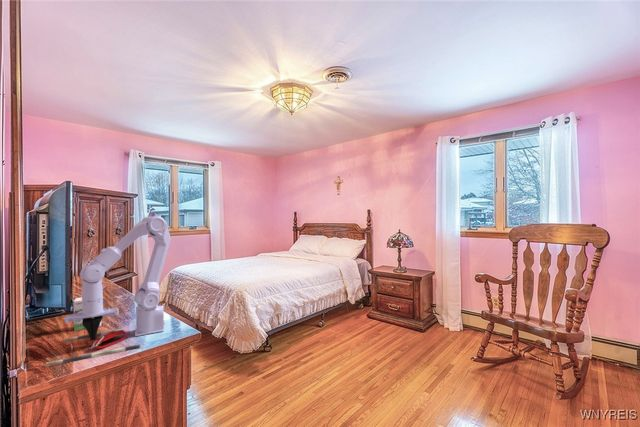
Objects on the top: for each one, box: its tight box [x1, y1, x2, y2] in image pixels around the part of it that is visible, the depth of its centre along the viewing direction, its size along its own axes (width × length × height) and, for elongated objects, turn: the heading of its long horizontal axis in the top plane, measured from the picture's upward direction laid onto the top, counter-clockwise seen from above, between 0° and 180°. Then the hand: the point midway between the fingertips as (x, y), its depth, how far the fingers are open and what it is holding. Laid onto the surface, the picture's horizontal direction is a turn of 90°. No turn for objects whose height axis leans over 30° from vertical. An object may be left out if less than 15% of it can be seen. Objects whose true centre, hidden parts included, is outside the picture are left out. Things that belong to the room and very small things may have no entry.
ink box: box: [73, 296, 103, 332], centre depth 120 cm, size 8×5×12 cm, turn 122°
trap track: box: [44, 328, 141, 368], centre depth 104 cm, size 24×21×1 cm
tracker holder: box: [90, 329, 127, 350], centre depth 105 cm, size 12×4×10 cm
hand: (93, 339), depth 103 cm, fingers closed
